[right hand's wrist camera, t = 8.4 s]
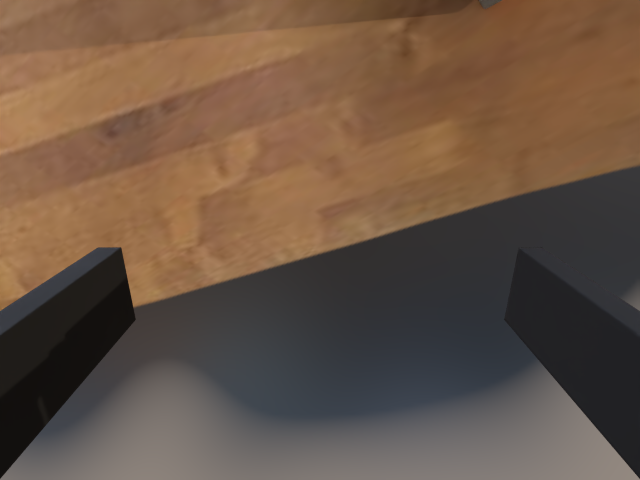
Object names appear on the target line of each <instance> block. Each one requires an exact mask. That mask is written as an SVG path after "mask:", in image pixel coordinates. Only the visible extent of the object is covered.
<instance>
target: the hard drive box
mask: <svg viewBox="0 0 640 480" xmlns="http://www.w3.org/2000/svg"><path fill="white" fill-rule="evenodd" d="M500 1H502V0H479V2H480V4H481V5H482V7H483V8H484V9H486V8H488V7H490V6H492V5H494V4H496V3H498V2H500Z"/></svg>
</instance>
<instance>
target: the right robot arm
mask: <svg viewBox="0 0 640 480" xmlns="http://www.w3.org/2000/svg"><path fill="white" fill-rule="evenodd" d="M134 321H135V314H134V309H133V304H132V299H131V294H130V289H129V284H128V279H127V274H126V269H125V264H124V259H123V254H122V249H121V248H97V249H95V250H93V251H92V252H90V253H89V254H87V255H86V256H84V257H83V258H81V259H80V260H78V261H77V262H75V263H74V264H72V265H70V266H69V267H67V268H66V269H64V270H63V271H61V272H60V273H58V274H57V275H55V276H54V277H52V278H50V279H49V280H47V281H46V282H44V283H43V284H41V285H40V286H38V287H37V288H35V289H34V290H32V291H30V292H29V293H27V294H26V295H24V296H23V297H21V298H20V299H18V300H17V301H15V302H14V303H12V304H11V305H9V306H7V307H6V308H4V309H3V310H1V311H0V478H1V477H2V476H3V475H4V474H5V473H6V471H7V470H8V469H9V468H10V467H11V465H12V464H13V463H14V462H15V461H16V460H17V458H18V457H19V456H20V455H21V454H22V453H23V451H24V450H25V449H26V448H27V447H28V446H29V444H30V443H31V442H32V441H33V440H34V438H35V437H36V436H37V435H38V434H39V433H40V431H41V430H42V429H43V428H44V427H45V426H46V424H47V423H48V422H49V421H50V420H51V418H52V417H53V416H54V415H55V414H56V413H57V411H58V410H59V409H60V408H61V407H62V405H63V404H64V403H65V402H66V401H67V400H68V399H69V397H70V396H71V395H72V394H73V393H74V391H75V390H76V389H77V388H78V387H79V386H80V384H81V383H82V382H83V381H84V380H85V379H86V377H87V376H88V375H89V374H90V373H91V372H92V370H93V369H94V368H95V367H96V366H97V364H98V363H99V362H100V361H101V360H102V359H103V357H104V356H105V355H106V354H107V353H108V352H109V350H110V349H111V348H112V347H113V346H114V344H115V343H116V342H117V341H118V340H119V339H120V337H121V336H122V335H123V334H124V333H125V332H126V330H127V329H128V328H129V327H130V326H131V324H132V323H133V322H134ZM505 321H506V322H507V323H508V325H509V326H510V327H511V328H512V329H513V330H514V332H515V333H516V334H517V335H518V336H519V337H520V339H521V340H522V341H523V342H524V343H525V344H526V346H527V347H528V348H529V349H530V350H531V352H532V353H533V354H534V355H535V356H536V357H537V359H538V360H539V361H540V362H541V363H542V364H543V366H544V367H545V368H546V369H547V370H548V372H549V373H550V374H551V375H552V376H553V377H554V379H555V380H556V381H557V382H558V383H559V384H560V386H561V387H562V388H563V389H564V390H565V391H566V393H567V394H568V395H569V396H570V397H571V399H572V400H573V401H574V402H575V403H576V404H577V406H578V407H579V408H580V409H581V410H582V411H583V413H584V414H585V415H586V416H587V417H588V418H589V420H590V421H591V422H592V423H593V424H594V426H595V427H596V428H597V429H598V430H599V431H600V433H601V434H602V435H603V436H604V437H605V438H606V440H607V441H608V442H609V443H610V444H611V446H612V447H613V448H614V449H615V450H616V451H617V453H618V454H619V455H620V456H621V457H622V458H623V460H624V461H625V462H626V463H627V464H628V465H629V467H630V468H631V469H632V470H633V471H634V472H635V474H636V475H637V476H638V477H639V478H640V311H639V310H637V309H636V308H634V307H633V306H631V305H629V304H628V303H626V302H625V301H623V300H622V299H620V298H619V297H617V296H616V295H614V294H613V293H611V292H609V291H608V290H606V289H605V288H603V287H602V286H600V285H599V284H597V283H596V282H594V281H593V280H591V279H590V278H588V277H586V276H585V275H583V274H582V273H580V272H579V271H577V270H576V269H574V268H573V267H571V266H569V265H568V264H566V263H565V262H563V261H562V260H560V259H559V258H557V257H556V256H554V255H553V254H551V253H550V252H548V251H547V250H545V249H543V248H519V249H518V254H517V259H516V264H515V269H514V274H513V279H512V284H511V289H510V294H509V299H508V304H507V309H506V314H505Z"/></svg>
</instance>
